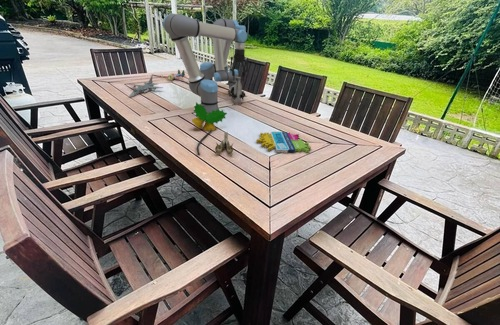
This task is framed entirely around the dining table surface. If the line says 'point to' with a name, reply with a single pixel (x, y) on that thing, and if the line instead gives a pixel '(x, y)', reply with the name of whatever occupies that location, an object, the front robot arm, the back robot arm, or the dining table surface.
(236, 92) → the bottle
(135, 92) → the airplane
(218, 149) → the jawbone
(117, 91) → the dining table surface
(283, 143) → the packaged fuzzy gloves
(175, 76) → the toy
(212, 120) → the ornament
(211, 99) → the front robot arm
